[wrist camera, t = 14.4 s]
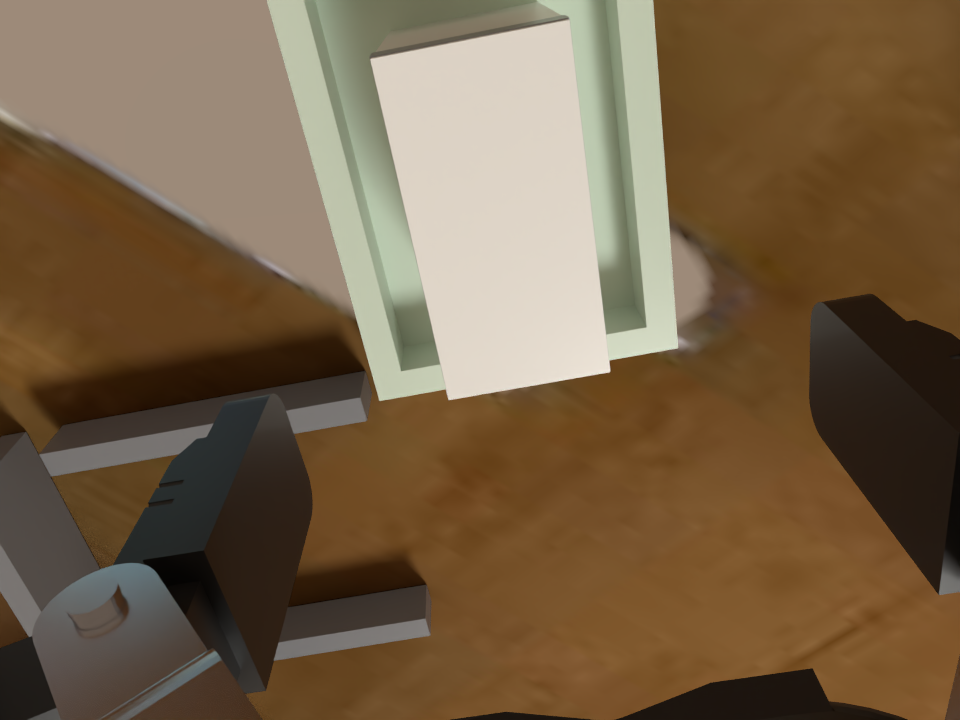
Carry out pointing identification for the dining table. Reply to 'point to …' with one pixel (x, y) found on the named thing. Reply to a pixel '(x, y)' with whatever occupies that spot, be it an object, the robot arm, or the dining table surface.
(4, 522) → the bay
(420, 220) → the cream rectangular block
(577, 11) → the tray
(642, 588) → the dining table surface
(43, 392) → the dining table surface
